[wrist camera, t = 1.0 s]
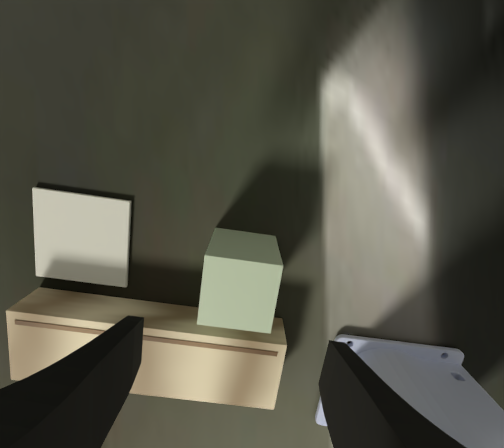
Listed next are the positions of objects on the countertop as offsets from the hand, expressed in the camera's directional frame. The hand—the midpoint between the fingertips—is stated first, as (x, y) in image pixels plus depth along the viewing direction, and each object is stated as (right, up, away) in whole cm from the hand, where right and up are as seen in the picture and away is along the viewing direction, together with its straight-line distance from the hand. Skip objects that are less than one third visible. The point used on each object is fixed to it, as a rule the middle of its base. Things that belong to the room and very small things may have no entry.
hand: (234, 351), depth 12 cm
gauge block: (0, +2, +9) cm, 9 cm away
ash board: (-6, -3, +10) cm, 12 cm away
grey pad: (-10, +4, +8) cm, 14 cm away
